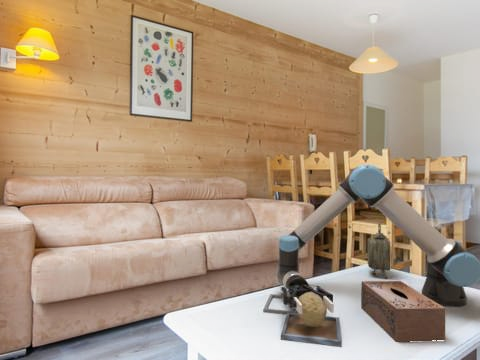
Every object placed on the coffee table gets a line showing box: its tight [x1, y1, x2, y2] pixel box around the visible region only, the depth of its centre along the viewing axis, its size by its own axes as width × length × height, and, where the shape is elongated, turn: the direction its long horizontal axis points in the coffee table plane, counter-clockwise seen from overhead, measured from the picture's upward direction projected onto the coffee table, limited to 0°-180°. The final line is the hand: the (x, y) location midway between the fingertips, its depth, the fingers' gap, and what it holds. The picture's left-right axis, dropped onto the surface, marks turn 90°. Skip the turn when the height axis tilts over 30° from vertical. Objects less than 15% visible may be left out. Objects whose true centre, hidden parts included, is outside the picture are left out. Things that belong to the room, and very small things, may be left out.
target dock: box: [280, 312, 342, 348], centre depth 108 cm, size 17×17×1 cm
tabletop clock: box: [366, 223, 392, 280], centre depth 167 cm, size 14×9×25 cm, turn 164°
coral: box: [295, 292, 328, 327], centre depth 108 cm, size 10×10×10 cm
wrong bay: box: [262, 293, 299, 316], centre depth 127 cm, size 15×16×1 cm
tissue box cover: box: [360, 280, 447, 343], centre depth 113 cm, size 26×14×10 cm, turn 3°
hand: (316, 308), depth 103 cm, fingers closed on coral, 9 cm apart
